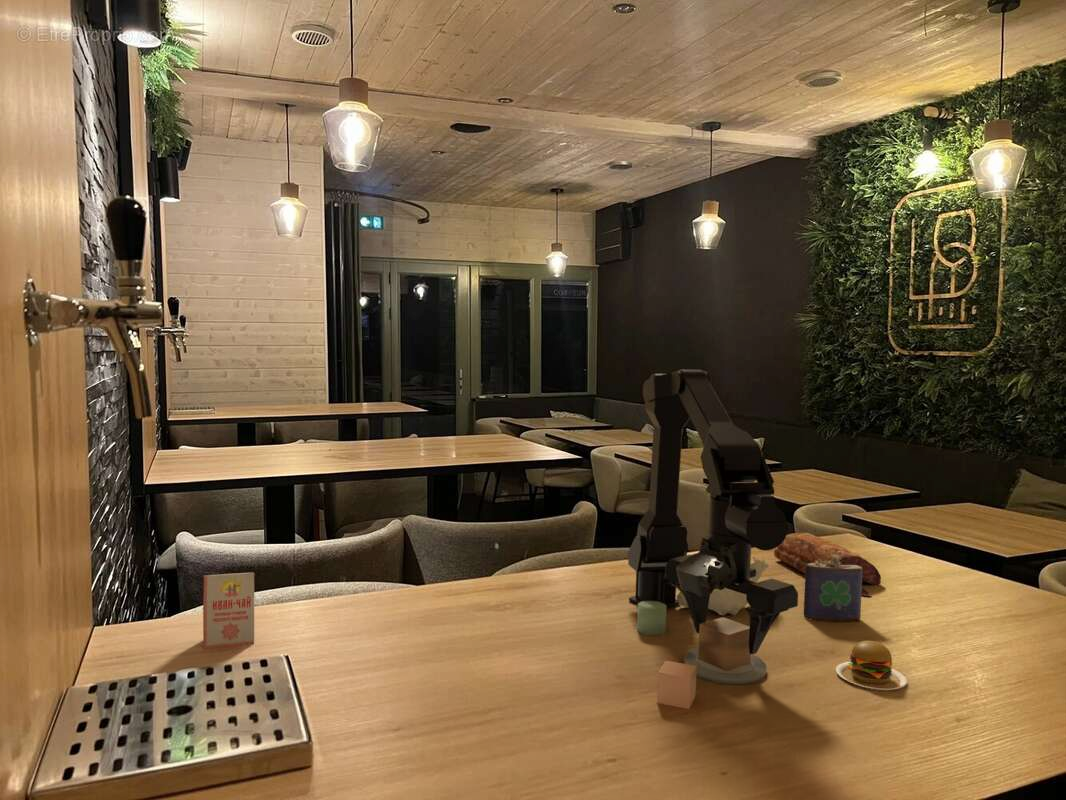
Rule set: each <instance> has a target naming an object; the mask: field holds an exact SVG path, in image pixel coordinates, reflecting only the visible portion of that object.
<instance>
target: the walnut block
mask: <svg viewBox="0 0 1066 800" xmlns="http://www.w3.org/2000/svg"><path fill="white" fill-rule="evenodd" d="M749 627H750V625H749V626H748V625H745V624H743V623H741V622H738V621H735V620H732V619H729V618H726V617H719V618H716V619H713V620H709V621H706V622H705V623H701V624H700V625H699V633H698V648H699V651H698V659H699V660H702V661H704V662H706V663H709V664H711V665H713V666H715V667H718V668H720V669H722V670H725V671H729V670H732V669H735V668H738V667H741V666H744V665H746V664H749V663H750V661H751V654H750V653H749Z"/></svg>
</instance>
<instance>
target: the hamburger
mask: <svg viewBox="0 0 1066 800" xmlns="http://www.w3.org/2000/svg"><path fill="white" fill-rule="evenodd" d="M892 660H893V657H892V653H891V651H890V650H889V649H888V647H886V646H885V645H884V644H882V643H881V642H878V641H875V640H862V641H859V642H857V643H856V644H855V645H854V646H853V647H852V649H851V654H850V655H849V661H846V662H842V663H839V664H838V665H837V666H836V668H835V672H836V674H837V675H838V676H839V677H840V678H842V679H843V680H845V681H847V682H848V683H850V684H852V683H853V685H855V686H857V685H858V686H857V687H861V688H864V687H865V689H869V688H870V689H869V690H875V689H876V691H877V690H878V691H893V690H897V689H902V688H903V687H905V686H906V685H907V684H908V680H907V678H906V676H905V675H904V674H903V673H901V672H899V671H898V670H897V669H894V668H892V667H893V661H892ZM847 669H848V670H850V672H851V674H852V676H853V677H854V678H855V679H856V680H858V681H860V680H861V682H863V681H864V682H863V683H866V682H867V684H871V683H873V685H882V684H883V685H884V684H886V683H887V682H889V681H890V679H891V676H893V677H895V678H896V677H897V678H898V679H899V680H900V681H899V685H898V686H897V687H893V688H892V687H891V688H881V687H872V686H866V685H863V684H859V683H856V682H853V681H851V680H849V679H847V678H846V677H845V676H844V675H843V672H844V670H847ZM891 674H892V675H891ZM897 678H896V679H897ZM892 689H893V690H892Z"/></svg>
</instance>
